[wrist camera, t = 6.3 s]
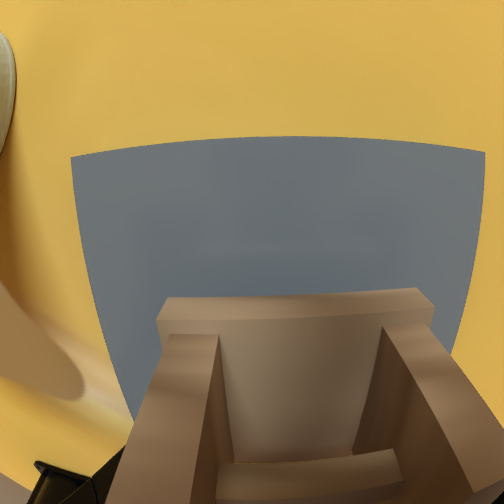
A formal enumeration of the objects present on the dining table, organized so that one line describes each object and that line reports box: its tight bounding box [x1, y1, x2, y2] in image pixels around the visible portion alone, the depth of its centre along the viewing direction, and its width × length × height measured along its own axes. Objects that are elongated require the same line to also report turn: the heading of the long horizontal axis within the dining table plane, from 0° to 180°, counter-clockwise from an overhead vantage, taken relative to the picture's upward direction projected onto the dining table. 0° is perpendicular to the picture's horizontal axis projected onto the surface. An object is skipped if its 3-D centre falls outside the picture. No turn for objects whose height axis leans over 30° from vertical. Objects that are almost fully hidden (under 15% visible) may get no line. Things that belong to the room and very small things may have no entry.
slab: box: [71, 136, 485, 422], centre depth 12 cm, size 14×14×2 cm
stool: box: [105, 287, 504, 504], centre depth 6 cm, size 7×6×6 cm
